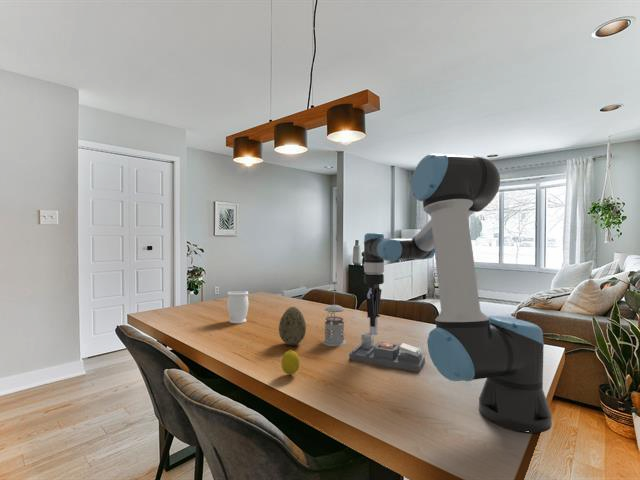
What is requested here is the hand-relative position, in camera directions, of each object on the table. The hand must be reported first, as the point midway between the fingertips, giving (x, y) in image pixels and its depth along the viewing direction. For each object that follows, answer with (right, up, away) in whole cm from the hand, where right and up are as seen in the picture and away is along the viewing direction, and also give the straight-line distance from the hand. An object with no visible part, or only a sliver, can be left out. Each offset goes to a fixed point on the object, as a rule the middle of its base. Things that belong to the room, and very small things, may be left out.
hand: (373, 334), depth 127 cm
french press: (-15, -6, +8) cm, 18 cm away
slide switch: (-3, -3, -6) cm, 8 cm away
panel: (+3, -6, -12) cm, 14 cm away
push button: (+3, -3, -13) cm, 13 cm away
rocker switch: (+10, -1, -16) cm, 19 cm away
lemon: (-30, -6, -25) cm, 39 cm away
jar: (-62, -5, +39) cm, 73 cm away
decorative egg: (-32, -6, +4) cm, 32 cm away
